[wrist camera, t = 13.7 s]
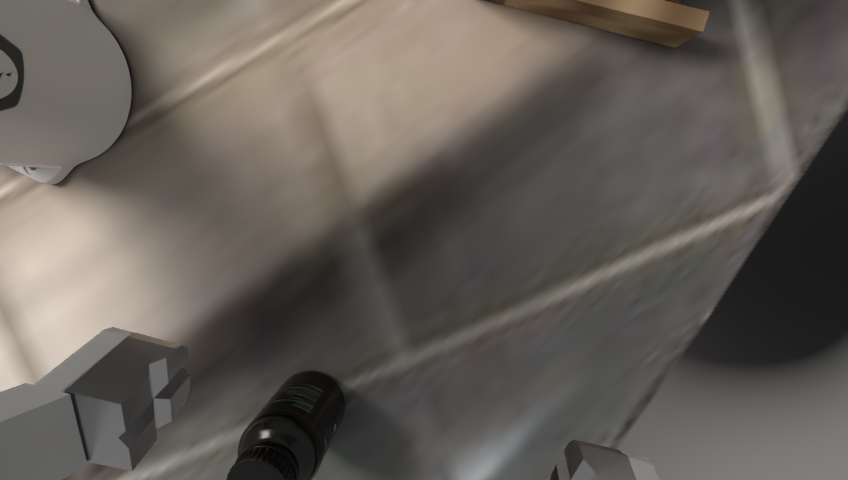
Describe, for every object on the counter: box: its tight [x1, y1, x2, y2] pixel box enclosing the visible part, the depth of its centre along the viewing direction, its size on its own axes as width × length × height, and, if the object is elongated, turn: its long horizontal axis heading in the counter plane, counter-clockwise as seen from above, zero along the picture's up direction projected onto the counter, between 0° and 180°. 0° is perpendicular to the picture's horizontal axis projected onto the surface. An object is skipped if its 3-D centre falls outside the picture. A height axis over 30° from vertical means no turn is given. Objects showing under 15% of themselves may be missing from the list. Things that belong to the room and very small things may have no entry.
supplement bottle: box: [227, 371, 345, 480], centre depth 36 cm, size 7×7×12 cm
